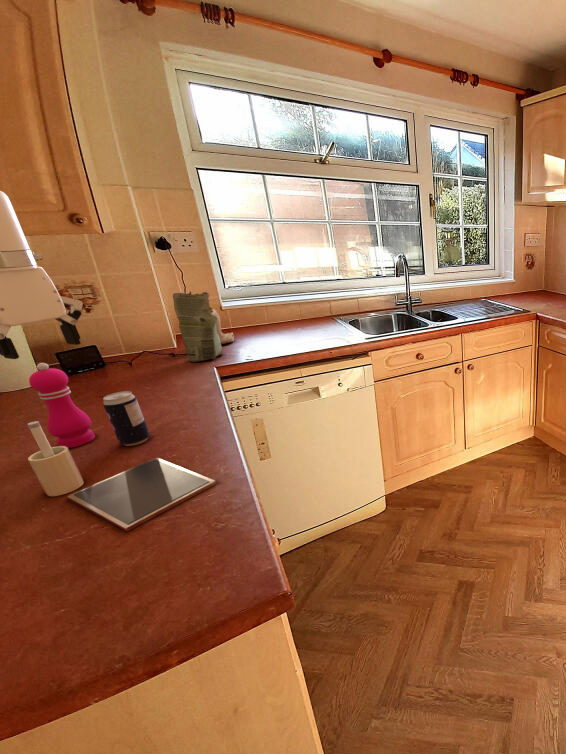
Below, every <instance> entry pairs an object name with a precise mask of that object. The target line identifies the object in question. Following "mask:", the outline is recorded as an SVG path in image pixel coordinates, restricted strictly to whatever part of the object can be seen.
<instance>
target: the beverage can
mask: <svg viewBox="0 0 566 754" xmlns="http://www.w3.org/2000/svg"><path fill="white" fill-rule="evenodd" d="M102 400H103V403H102V405H103V408H104V411H105V413H106V415H107V417H108V420H109V422H110V424H111V427H112V429H113V432H114V434H115V436H116V438H117V441H118V443H119V444H121V445H124V446H126V447H131V446H133V447H134V446H136V445H140V444H143V443H144V442H146V441H147V440H148V438H149V437H150V435H151V433H150V430H149V427H148V425H147V422H146V421H145V417H144V415H143V412H142V409H141V407H140V405H139V402H138V399H137V397H136V396H135V395H134V394H133V393H132V391H129V390H126V391H124V390H123V391H118V392H114V393H110V394H107V395H105V396H104V397H103V398H102Z"/></svg>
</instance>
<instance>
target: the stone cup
mask: <svg viewBox="0 0 566 754" xmlns="http://www.w3.org/2000/svg"><path fill="white" fill-rule="evenodd" d="M211 313H212V316H216V317H217V323H216V330H217V333H218V334H219V338H220V344H221V345H224V344H229V343H233V342H235V341H234V340H235V336H234V333H233V332H227V333H223V332H222V323H221V322H222V321H221V317H220V315H219V313H218V312H217V310H216V309H214V308H213V309H212V311H211Z"/></svg>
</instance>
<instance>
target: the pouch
mask: <svg viewBox="0 0 566 754" xmlns="http://www.w3.org/2000/svg"><path fill="white" fill-rule="evenodd" d="M209 295H210V293H209V292H207V291H204V292H202V293H195V294H194V293H193V294H192V291H189V293H183V292H175V293H174V292H173V293H172V300H173V308H174V312H175V315H176V318H177V319H178V328H179V331H180V334H181V339H182V341H183V346H184V348H185V352H186V356H187V359H188V361H191V362H192V363H193V362H194V363H195V362H203V361H208V360H215V359H216V357H218V356H223V355H224V353H223V346H222V344H220V338H219V334H218V333H217V330H216V323H217V317H216V316H212V313H211V311H212V309H214V308H213V307H211V306H210V299H209V297H210V296H209Z"/></svg>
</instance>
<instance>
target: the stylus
mask: <svg viewBox="0 0 566 754" xmlns="http://www.w3.org/2000/svg"><path fill="white" fill-rule="evenodd" d="M27 427H28V428H29V430H30V433H31V434H32V436H33V438H34V440H35V442H36V444H37V446H38V448H39V451H41V452H42V454H43V456H44V458H48V457H52V456H54V455H55V454H54V452H53V450H52V446H51V444H50V442H49V440H48V438H47V436H46V434H45V432H44V430H43V428H42V426H41V423H40V422H39V421H38V420H37V421H35V420H34V421H31V422H29V423H27Z"/></svg>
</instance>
